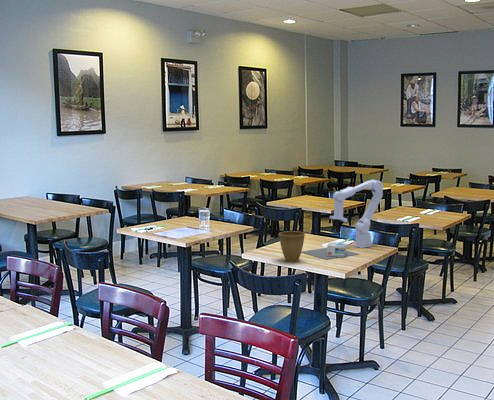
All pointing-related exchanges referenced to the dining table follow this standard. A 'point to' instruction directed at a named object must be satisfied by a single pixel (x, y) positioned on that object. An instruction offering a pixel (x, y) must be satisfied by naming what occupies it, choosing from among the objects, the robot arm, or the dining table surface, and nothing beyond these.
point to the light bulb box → (336, 249)
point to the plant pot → (291, 244)
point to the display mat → (325, 253)
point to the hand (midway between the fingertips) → (338, 231)
